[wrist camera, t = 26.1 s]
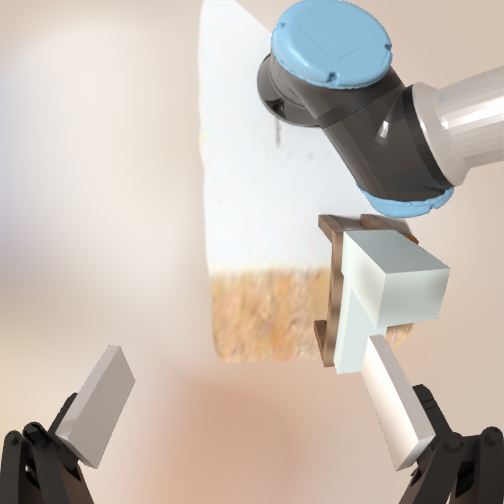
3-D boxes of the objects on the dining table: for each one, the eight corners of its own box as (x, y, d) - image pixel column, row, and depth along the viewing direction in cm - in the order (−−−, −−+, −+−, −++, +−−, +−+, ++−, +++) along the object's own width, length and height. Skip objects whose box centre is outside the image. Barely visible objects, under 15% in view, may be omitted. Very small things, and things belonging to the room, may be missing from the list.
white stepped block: (343, 230, 36) (385, 273, 23) (394, 229, 36) (450, 268, 22) (330, 360, 44) (348, 424, 31) (372, 355, 43) (399, 413, 30)
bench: (318, 214, 47) (336, 234, 36) (370, 214, 47) (400, 232, 36) (313, 328, 56) (324, 367, 44) (358, 324, 55) (376, 360, 44)
